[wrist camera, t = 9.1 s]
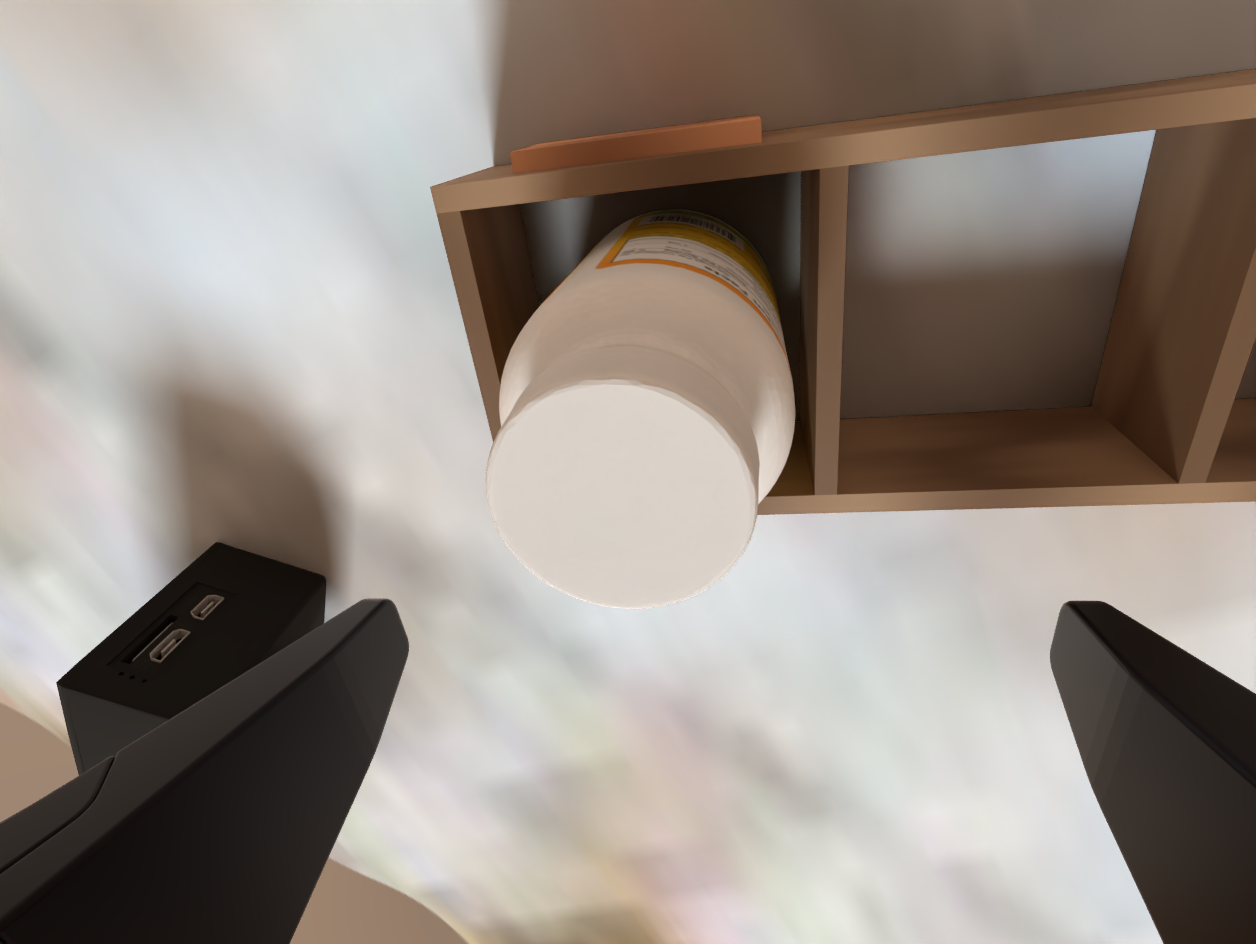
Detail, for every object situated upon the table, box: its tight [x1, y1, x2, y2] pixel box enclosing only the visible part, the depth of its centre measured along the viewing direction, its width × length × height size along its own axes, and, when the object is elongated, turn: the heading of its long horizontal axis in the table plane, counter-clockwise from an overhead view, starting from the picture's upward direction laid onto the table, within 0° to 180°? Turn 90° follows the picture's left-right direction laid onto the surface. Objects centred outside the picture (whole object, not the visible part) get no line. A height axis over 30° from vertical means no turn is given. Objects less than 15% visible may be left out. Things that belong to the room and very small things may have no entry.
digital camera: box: [56, 542, 326, 776], centre depth 24 cm, size 10×5×7 cm, turn 164°
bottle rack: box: [430, 69, 1256, 515], centre depth 15 cm, size 23×8×4 cm, turn 97°
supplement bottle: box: [486, 209, 795, 609], centre depth 14 cm, size 5×5×10 cm
